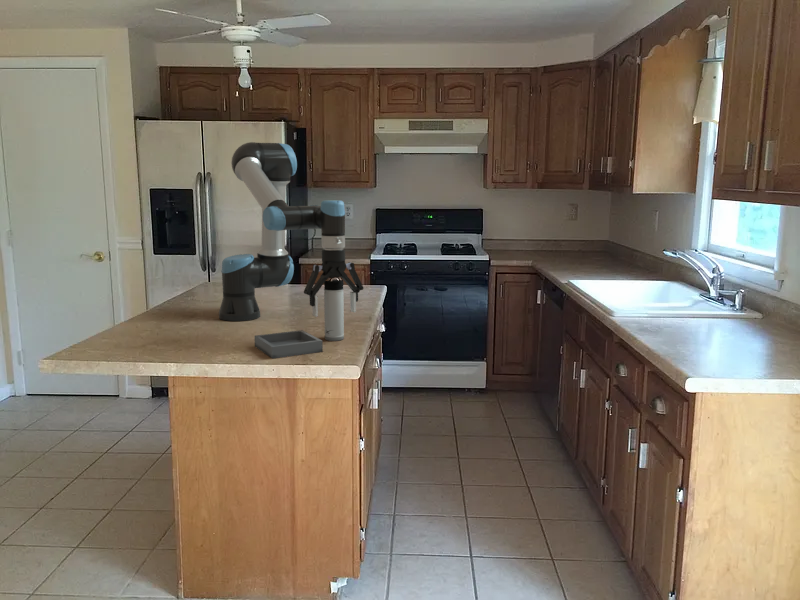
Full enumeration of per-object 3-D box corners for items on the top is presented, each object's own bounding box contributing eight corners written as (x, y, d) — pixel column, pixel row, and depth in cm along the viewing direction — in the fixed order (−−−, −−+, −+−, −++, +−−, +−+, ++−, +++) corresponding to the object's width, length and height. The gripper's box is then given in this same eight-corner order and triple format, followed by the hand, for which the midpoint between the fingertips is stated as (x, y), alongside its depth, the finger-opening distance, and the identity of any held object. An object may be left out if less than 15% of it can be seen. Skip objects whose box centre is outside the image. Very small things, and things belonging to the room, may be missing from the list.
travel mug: (326, 341, 212) (326, 280, 208) (323, 337, 218) (322, 277, 214) (345, 340, 213) (345, 280, 210) (341, 336, 220) (341, 277, 216)
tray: (254, 346, 205) (254, 335, 204) (302, 340, 213) (302, 330, 212) (272, 358, 192) (272, 347, 191) (322, 351, 200) (322, 340, 199)
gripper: (301, 251, 201) (303, 319, 204) (373, 247, 213) (373, 311, 217) (292, 249, 207) (294, 315, 211) (362, 246, 219) (363, 308, 223)
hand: (334, 313), depth 214 cm, fingers open, 13 cm apart
